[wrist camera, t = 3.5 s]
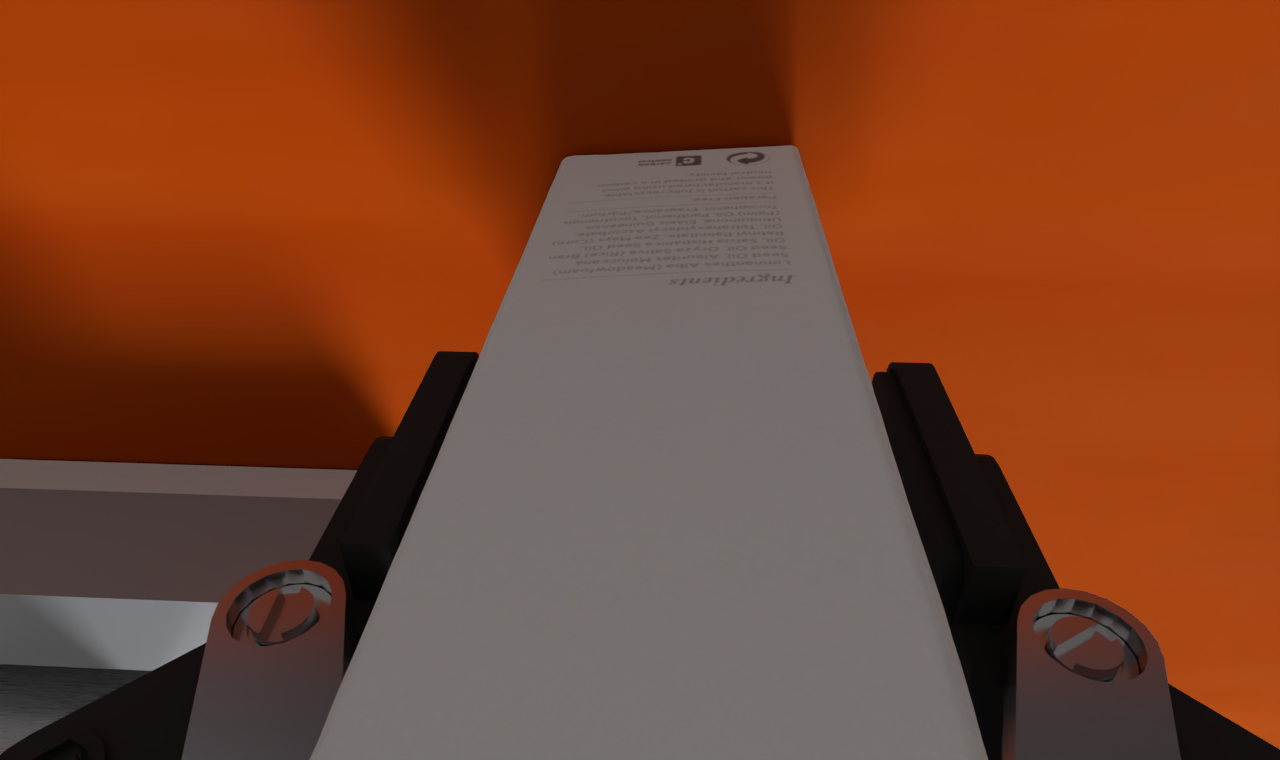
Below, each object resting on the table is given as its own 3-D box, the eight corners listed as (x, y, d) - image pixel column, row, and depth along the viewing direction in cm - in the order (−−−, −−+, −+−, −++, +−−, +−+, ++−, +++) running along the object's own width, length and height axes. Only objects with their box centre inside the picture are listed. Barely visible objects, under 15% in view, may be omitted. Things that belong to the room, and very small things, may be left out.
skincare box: (554, 150, 15) (241, 824, 4) (799, 138, 14) (1055, 839, 4) (590, 429, 18) (453, 1181, 8) (789, 423, 17) (918, 1206, 7)
